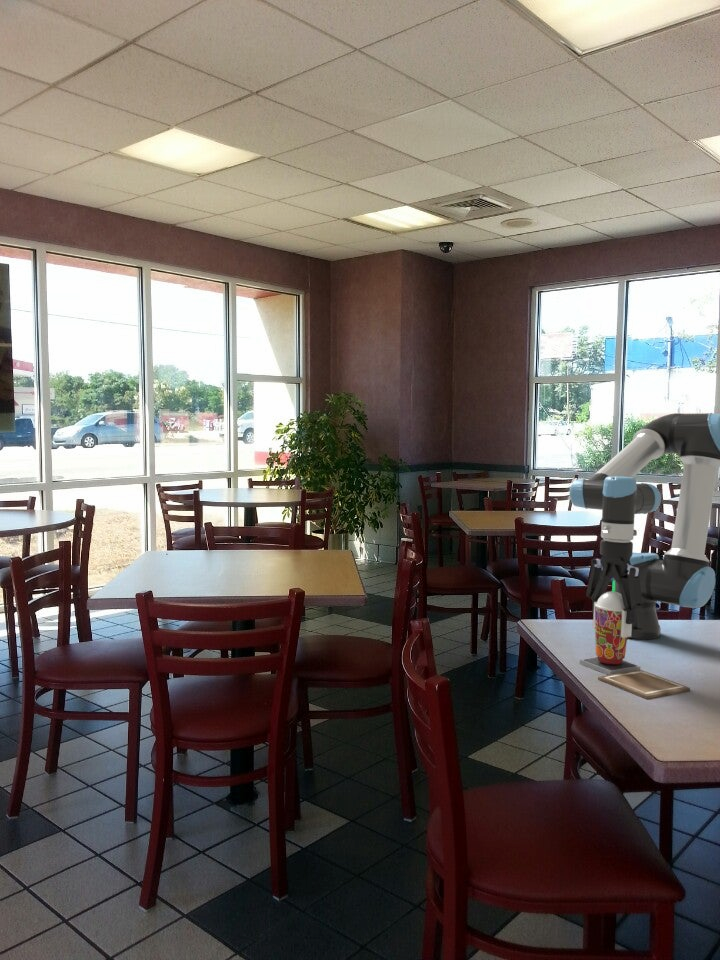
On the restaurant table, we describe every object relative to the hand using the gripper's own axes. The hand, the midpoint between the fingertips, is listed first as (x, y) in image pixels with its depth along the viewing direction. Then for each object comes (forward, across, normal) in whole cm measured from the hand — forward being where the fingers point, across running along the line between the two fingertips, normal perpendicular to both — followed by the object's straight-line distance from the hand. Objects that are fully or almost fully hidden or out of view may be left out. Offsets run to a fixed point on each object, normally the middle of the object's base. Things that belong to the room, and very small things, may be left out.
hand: (611, 631), depth 188 cm
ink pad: (+9, 0, 0) cm, 9 cm away
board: (+9, +13, -3) cm, 16 cm away
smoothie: (+8, 0, 0) cm, 8 cm away
